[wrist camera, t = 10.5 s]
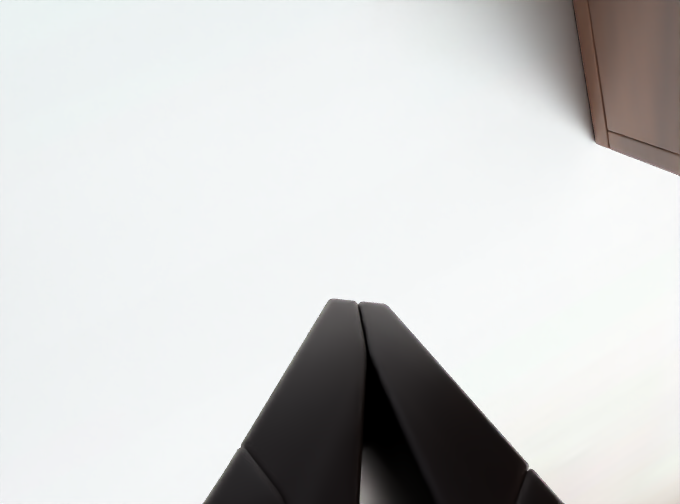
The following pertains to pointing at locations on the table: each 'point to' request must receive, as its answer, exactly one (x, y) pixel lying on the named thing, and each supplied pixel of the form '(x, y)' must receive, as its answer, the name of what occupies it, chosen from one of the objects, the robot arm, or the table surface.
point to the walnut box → (633, 76)
